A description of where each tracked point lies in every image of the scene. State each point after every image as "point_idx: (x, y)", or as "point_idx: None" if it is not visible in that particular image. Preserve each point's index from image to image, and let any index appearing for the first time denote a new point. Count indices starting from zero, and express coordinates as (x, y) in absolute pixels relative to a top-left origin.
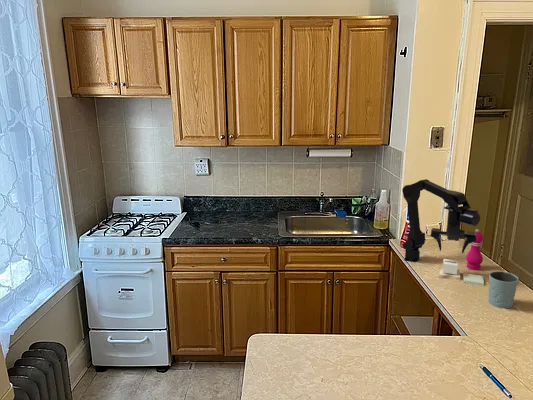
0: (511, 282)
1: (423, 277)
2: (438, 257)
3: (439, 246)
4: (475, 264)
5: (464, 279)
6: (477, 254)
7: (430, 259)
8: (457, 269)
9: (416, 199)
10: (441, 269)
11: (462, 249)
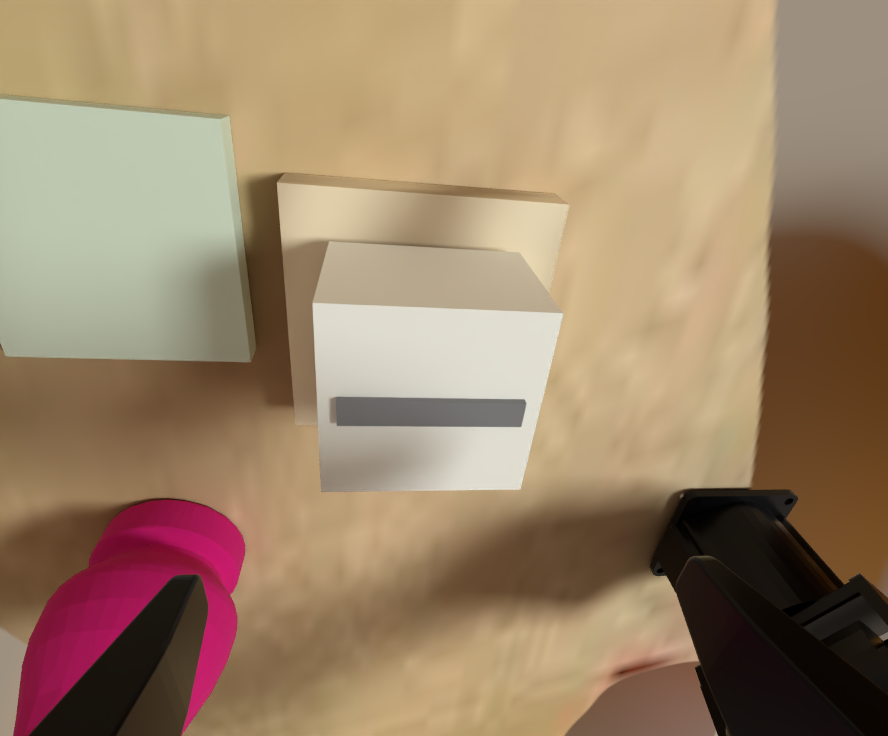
0: None
1: (753, 125)
2: (480, 617)
3: (837, 666)
4: (126, 555)
5: (215, 157)
6: (51, 700)
7: (552, 571)
8: None
9: None
10: None
11: (144, 710)
